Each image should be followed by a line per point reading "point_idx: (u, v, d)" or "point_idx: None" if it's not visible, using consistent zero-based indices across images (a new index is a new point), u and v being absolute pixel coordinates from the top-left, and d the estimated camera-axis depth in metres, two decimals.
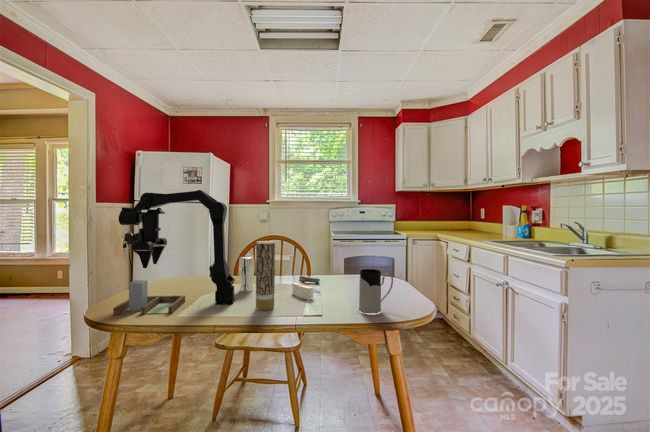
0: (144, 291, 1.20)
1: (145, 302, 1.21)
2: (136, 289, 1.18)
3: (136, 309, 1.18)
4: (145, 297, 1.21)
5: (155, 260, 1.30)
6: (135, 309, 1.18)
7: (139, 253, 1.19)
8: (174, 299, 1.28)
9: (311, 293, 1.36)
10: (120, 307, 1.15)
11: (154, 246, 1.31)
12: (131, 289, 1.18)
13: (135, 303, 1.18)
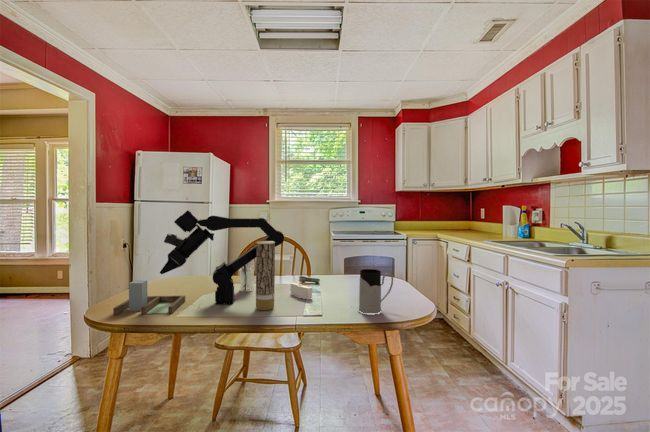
0: (144, 291, 1.20)
1: (145, 302, 1.21)
2: (136, 289, 1.18)
3: (136, 309, 1.18)
4: (145, 297, 1.21)
5: None
6: (135, 309, 1.18)
7: (169, 260, 1.17)
8: (174, 299, 1.28)
9: (310, 293, 1.36)
10: (120, 307, 1.15)
11: None
12: (131, 289, 1.18)
13: (135, 303, 1.18)
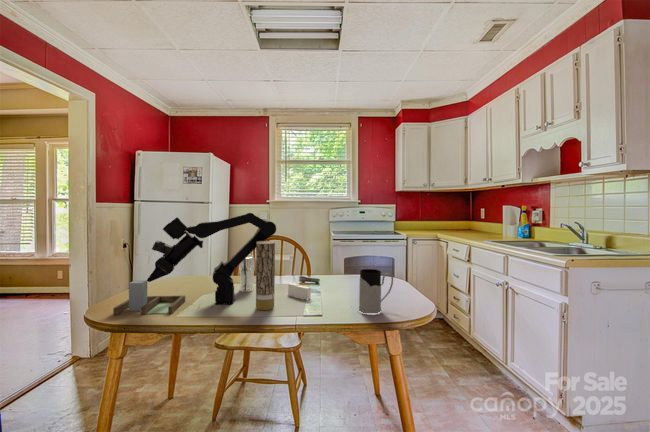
0: (144, 291, 1.20)
1: (145, 302, 1.21)
2: (136, 289, 1.18)
3: (136, 309, 1.18)
4: (145, 297, 1.21)
5: None
6: (135, 309, 1.18)
7: (157, 268, 1.16)
8: (174, 299, 1.28)
9: (309, 293, 1.36)
10: (120, 307, 1.15)
11: None
12: (131, 289, 1.18)
13: (135, 303, 1.18)
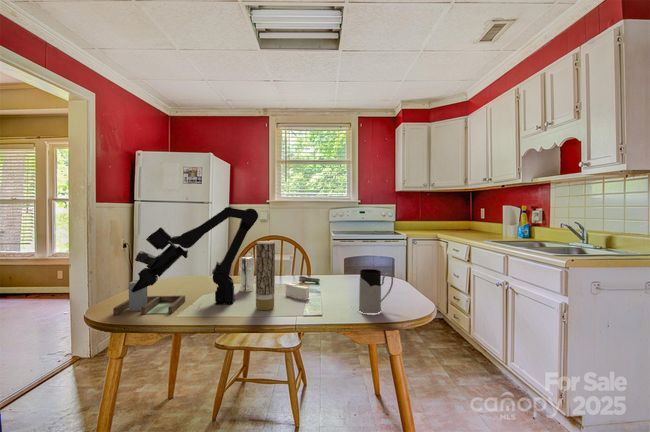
0: (144, 291, 1.20)
1: (145, 302, 1.21)
2: None
3: (136, 309, 1.18)
4: (145, 297, 1.21)
5: None
6: (135, 309, 1.18)
7: (141, 278, 1.16)
8: (174, 299, 1.28)
9: (307, 293, 1.36)
10: (120, 307, 1.15)
11: None
12: (130, 289, 1.18)
13: (135, 303, 1.18)
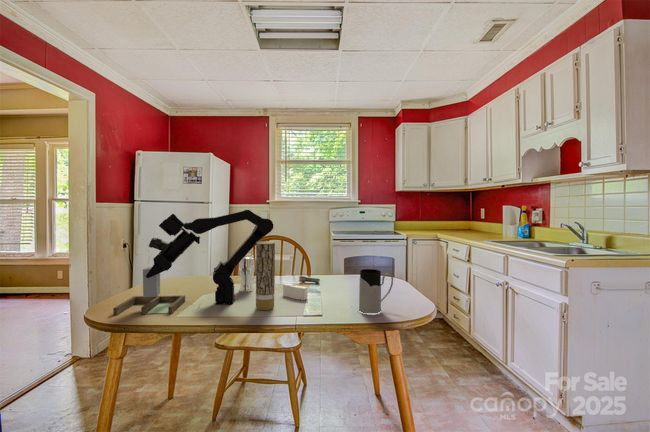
0: (158, 277, 1.21)
1: (158, 288, 1.22)
2: None
3: (151, 295, 1.18)
4: (158, 283, 1.22)
5: None
6: (150, 295, 1.18)
7: (155, 264, 1.17)
8: (174, 299, 1.28)
9: (306, 293, 1.36)
10: (120, 307, 1.15)
11: None
12: (144, 275, 1.18)
13: (150, 289, 1.18)
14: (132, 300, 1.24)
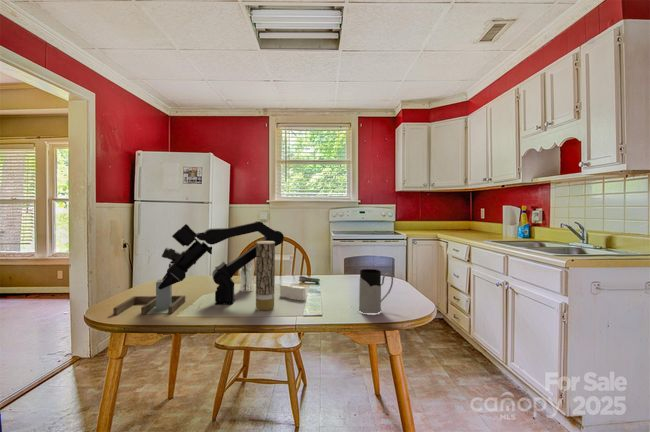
0: (170, 290, 1.21)
1: (170, 300, 1.22)
2: (164, 288, 1.19)
3: (163, 308, 1.19)
4: (170, 296, 1.22)
5: None
6: (162, 308, 1.19)
7: (168, 275, 1.16)
8: (174, 299, 1.28)
9: (304, 293, 1.35)
10: (120, 307, 1.15)
11: None
12: (158, 288, 1.18)
13: (163, 302, 1.19)
14: (132, 300, 1.24)
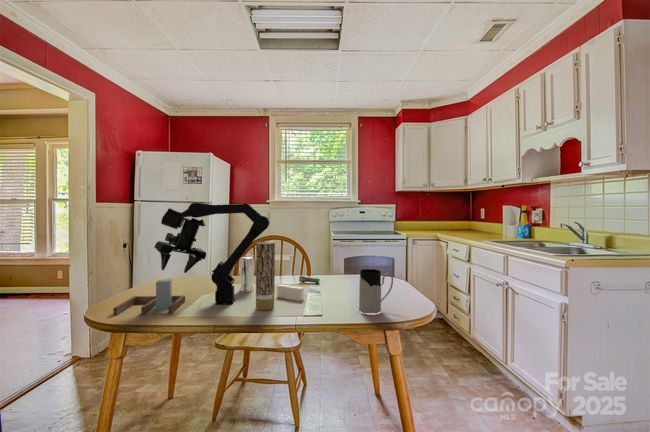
0: (170, 290, 1.21)
1: (170, 300, 1.22)
2: (164, 288, 1.19)
3: (163, 308, 1.19)
4: (170, 296, 1.22)
5: (186, 269, 1.30)
6: (162, 308, 1.19)
7: (161, 253, 1.23)
8: (174, 299, 1.28)
9: (302, 293, 1.35)
10: (120, 307, 1.15)
11: (192, 256, 1.31)
12: (158, 288, 1.18)
13: (163, 302, 1.19)
14: (132, 300, 1.24)
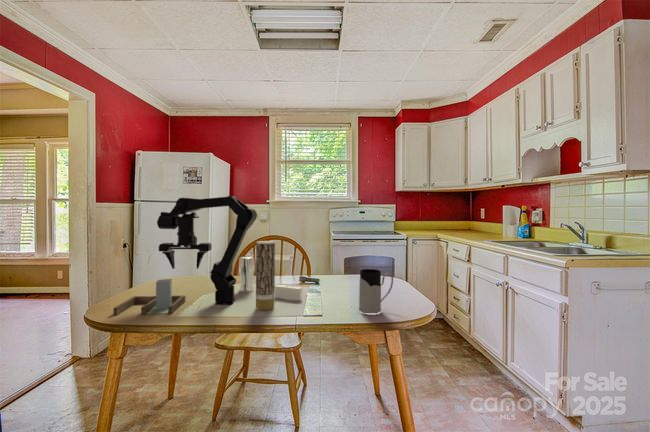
0: (170, 290, 1.21)
1: (170, 300, 1.22)
2: (164, 288, 1.19)
3: (163, 308, 1.19)
4: (170, 296, 1.22)
5: None
6: (162, 308, 1.19)
7: None
8: (174, 299, 1.28)
9: (300, 293, 1.35)
10: (120, 307, 1.15)
11: None
12: (158, 288, 1.18)
13: (163, 302, 1.19)
14: (132, 300, 1.24)
